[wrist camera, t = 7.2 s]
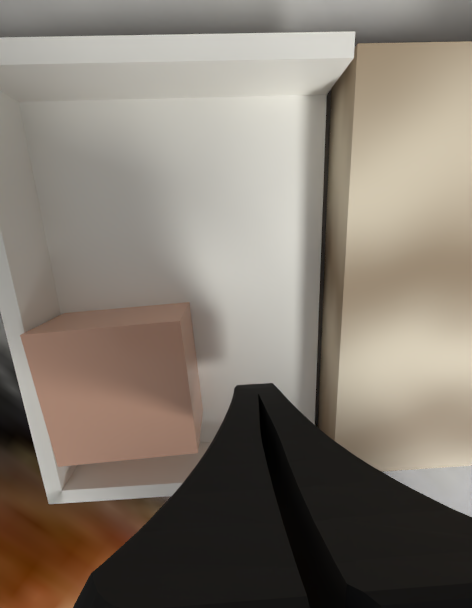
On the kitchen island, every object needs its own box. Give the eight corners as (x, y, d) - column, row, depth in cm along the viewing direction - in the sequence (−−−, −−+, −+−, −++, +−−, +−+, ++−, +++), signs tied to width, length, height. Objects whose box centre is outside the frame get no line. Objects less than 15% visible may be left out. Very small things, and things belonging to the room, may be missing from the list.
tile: (57, 466, 10) (90, 421, 12) (198, 453, 10) (203, 410, 13) (20, 335, 9) (63, 313, 11) (180, 320, 9) (189, 302, 11)
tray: (311, 440, 14) (330, 485, 11) (80, 454, 13) (48, 504, 11) (323, 80, 10) (355, 31, 8) (5, 87, 10) (-69, 38, 7)
